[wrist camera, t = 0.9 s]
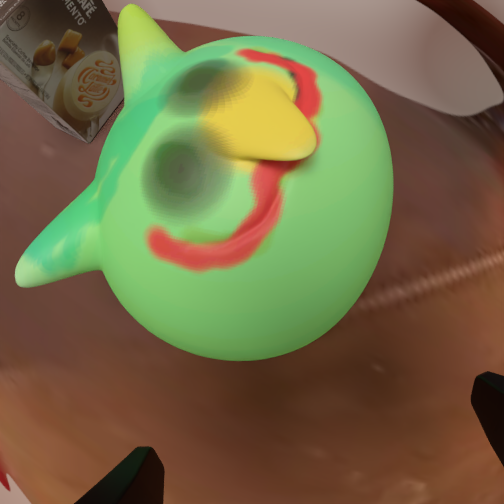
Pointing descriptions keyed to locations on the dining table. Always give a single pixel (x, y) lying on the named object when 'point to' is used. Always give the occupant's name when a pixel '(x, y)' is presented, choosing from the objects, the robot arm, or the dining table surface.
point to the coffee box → (62, 61)
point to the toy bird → (229, 195)
